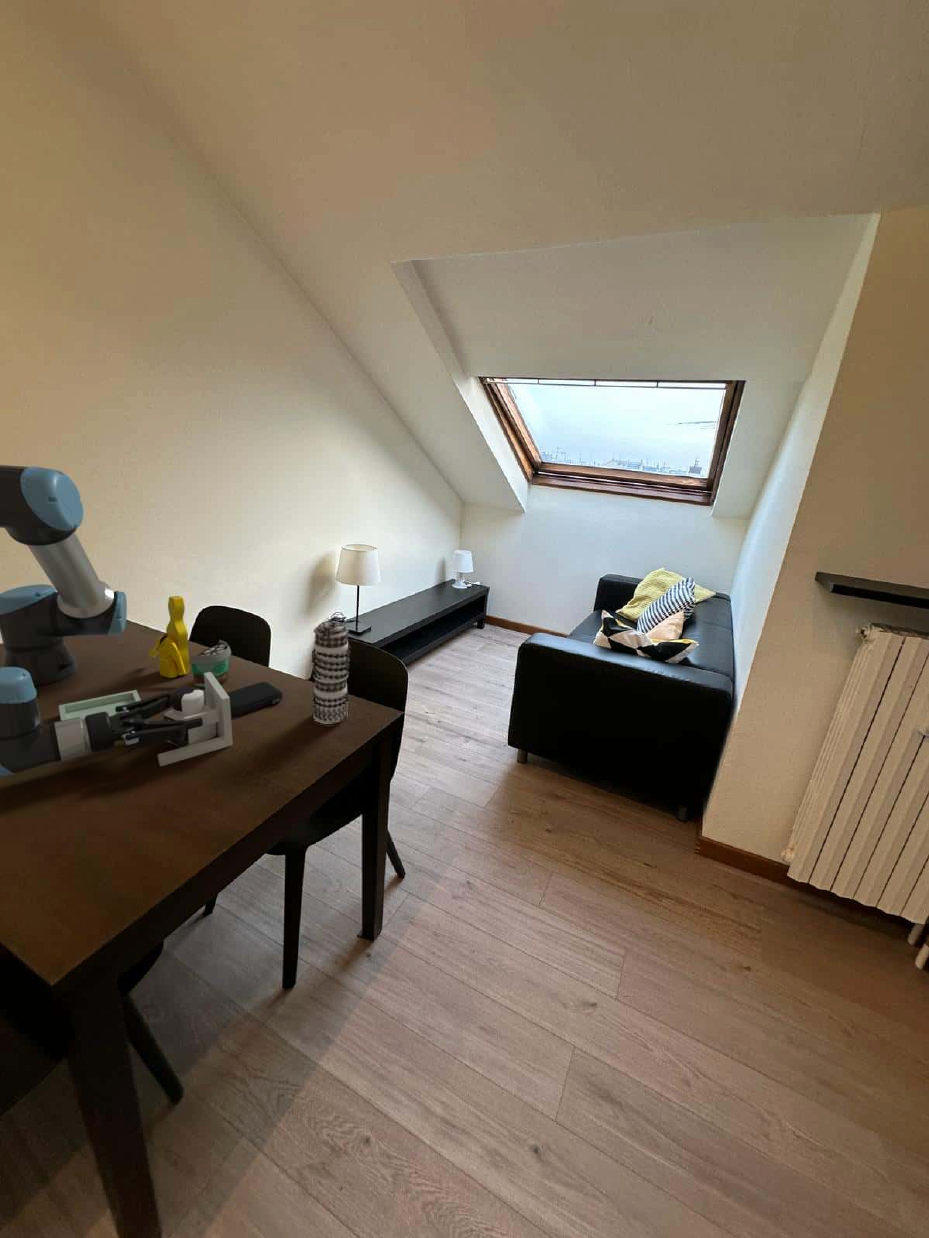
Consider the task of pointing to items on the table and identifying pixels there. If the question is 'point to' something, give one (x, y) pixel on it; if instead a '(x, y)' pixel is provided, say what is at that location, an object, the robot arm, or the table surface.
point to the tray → (98, 705)
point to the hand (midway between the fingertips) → (211, 705)
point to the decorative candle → (330, 672)
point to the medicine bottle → (187, 705)
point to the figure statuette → (173, 642)
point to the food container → (211, 664)
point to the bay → (221, 702)
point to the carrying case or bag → (253, 698)
